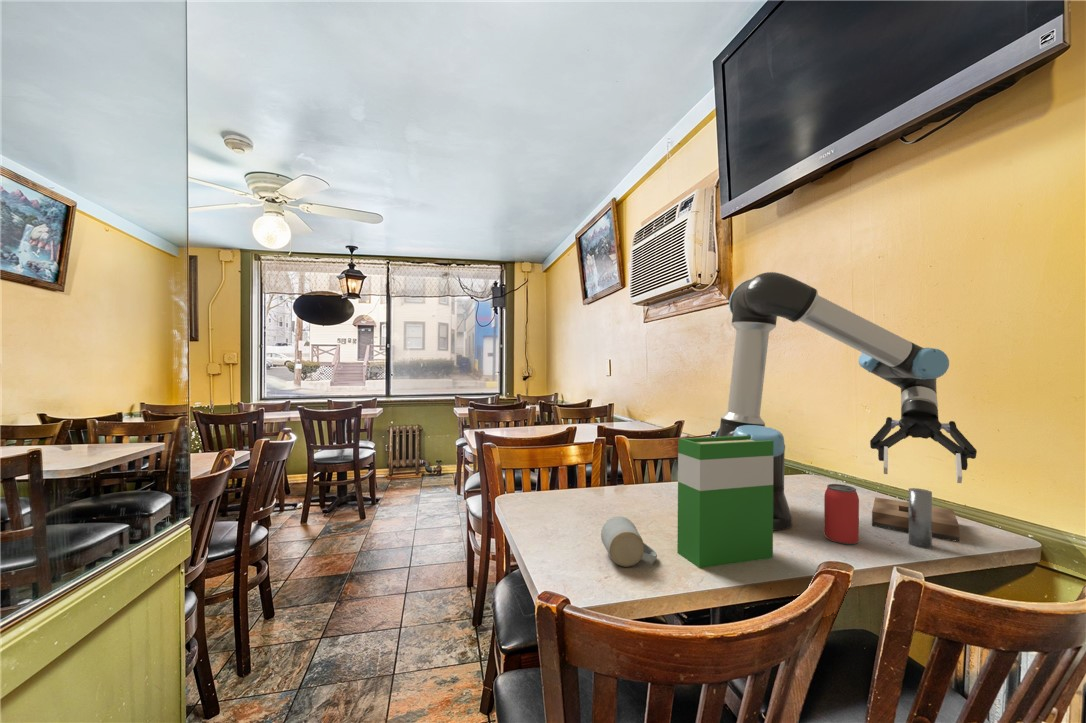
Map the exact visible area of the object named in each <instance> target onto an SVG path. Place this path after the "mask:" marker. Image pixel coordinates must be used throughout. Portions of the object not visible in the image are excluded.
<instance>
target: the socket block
mask: <svg viewBox="0 0 1086 723" xmlns="http://www.w3.org/2000/svg"><path fill="white" fill-rule="evenodd" d="M871 525H872V526H873V527H878V528H882V529H883V528H884V529H888V530H893V531H898V532H899V531H900V532H904V533H905V532H906V533H909V501H902V500H895V499H887V498H882V497H877V496H876V497H874V501H873V506H872V511H871ZM936 537H938V538H937V539H941V538H944V539H943V540H947V539H950V540H949V541H952V540H956V541H955V542H958V541H959V542H960V524H959V522H958V519H957V516H956V514H955V510H954V509H953V508H947V507H940V506H936V505H935V506H934V505H932V538H936Z"/></svg>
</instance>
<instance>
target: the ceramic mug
mask: <svg viewBox="0 0 1086 723" xmlns="http://www.w3.org/2000/svg"><path fill="white" fill-rule="evenodd" d="M600 537H601V538H600V539H601V543H602V544H603V546H604V548H605V550H606V552H607V554H608V556H609V558H610V559H611V560H612V561H613V562H614V563H615V564H616V565H618V566H620V567H625V568H626V567H627V568H629V567H633V566H635V565H637V564H638V563H639V562H641V560H642V561H643V562H647V563H649V564H654V563H655V561H656V559H657V557H658V554H657V552H656V551H655V550H654V549H653V548H652V547H651V546H649V545H647V543H644V540H643V538H642V535H641V534H640V533H639V531H638V529H637V527H636V526H635V524H634V522H632V521H631V519H629V518H627V517H625V516H619V515H616V516H613V517H610V518H609V519H608V520H606V521H605V523H603V525H602V529H601V533H600Z"/></svg>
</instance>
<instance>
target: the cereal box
mask: <svg viewBox="0 0 1086 723" xmlns="http://www.w3.org/2000/svg"><path fill="white" fill-rule="evenodd" d="M677 443H678V444H677V445H678V446H677V546H676V547H677V551H676V552H677V554H678V555H679V556H681V557H682V558H683V559H685V560H687V562H690V563H691V564H693V565H694V566H695V567H697V568H698V569H703V568H711V567H719V566H725V565H731V564H733V565H734V564H739V563H746V562H747V563H748V562H752V561H761V560H768V559H773V558H774V530H773V441H771V440H766V441H753V440H751V436H727V437H714V436H713V437H712V436H709V437H706V436H705V437H686V438H684V437H683V438H681V437H680V438H678V439H677Z"/></svg>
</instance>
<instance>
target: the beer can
mask: <svg viewBox="0 0 1086 723" xmlns="http://www.w3.org/2000/svg"><path fill="white" fill-rule="evenodd" d="M823 497H824V499H823V501H824V507H823V508H824V512H823V513H824V515H823V516H824V518H823V520H824V521H823V523H824V524H823V525H824V526H823V528H824V529H823V530H824V531H823V533H824V534H823V535H824V537H825V538H826V539H828V540H829V541H832V542H833V543H838V544H843V545H855V544H857V543H859V540H860V526H859V525H860V498H859V495H858V492H857V489H856V487H854V486H851V485H847V484H841V483H839V484H838V483H830V484H827V487H826V490H825V492H824V496H823Z"/></svg>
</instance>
